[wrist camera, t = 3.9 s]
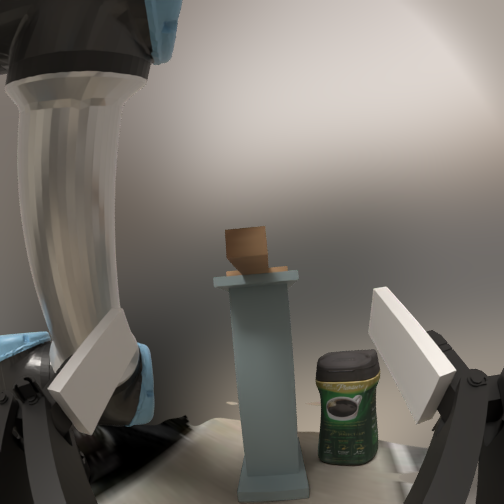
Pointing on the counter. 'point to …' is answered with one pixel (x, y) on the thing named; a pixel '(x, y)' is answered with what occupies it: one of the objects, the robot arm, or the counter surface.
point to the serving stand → (266, 386)
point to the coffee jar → (348, 406)
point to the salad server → (248, 251)
